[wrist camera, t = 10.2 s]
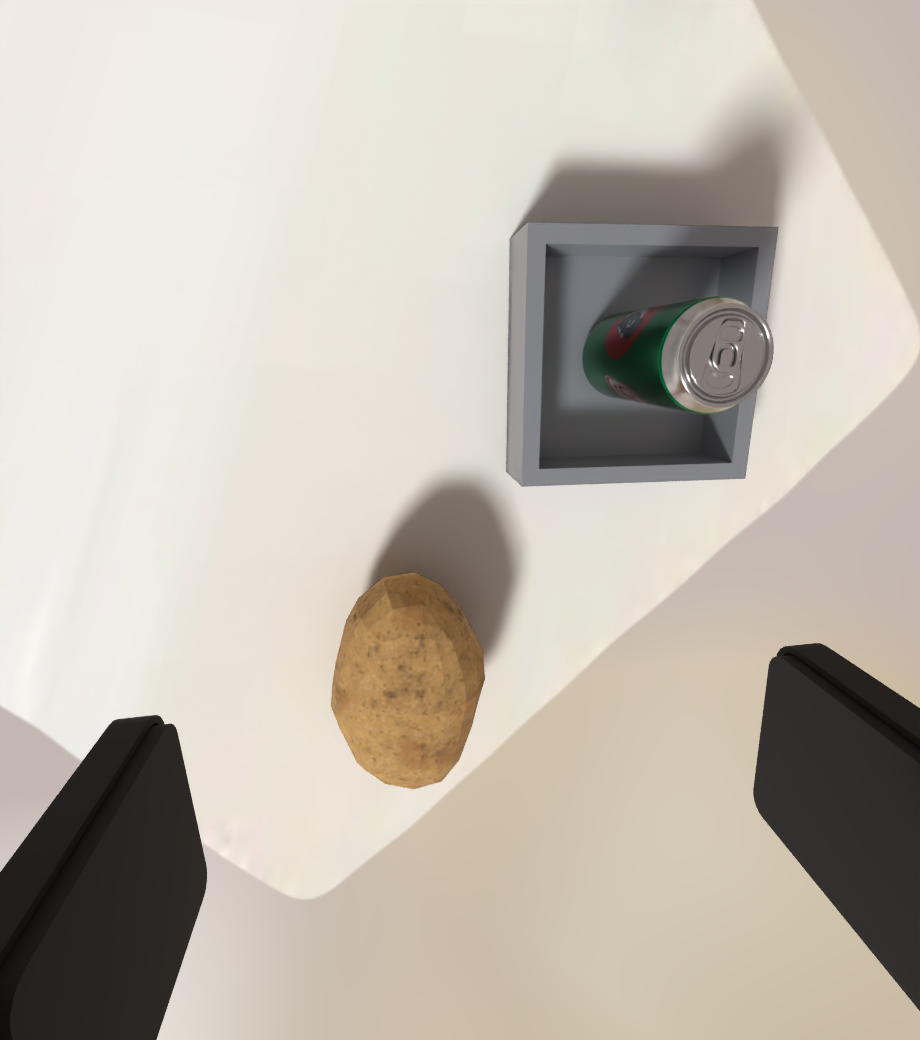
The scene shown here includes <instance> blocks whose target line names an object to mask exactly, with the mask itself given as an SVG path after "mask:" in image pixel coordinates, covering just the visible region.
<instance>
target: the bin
mask: <svg viewBox="0 0 920 1040" xmlns="http://www.w3.org/2000/svg"><path fill="white" fill-rule="evenodd" d="M777 234H778V227H744V226H693V225H641V224H590V223H539V222H527V223H526V224H525V225H524V226H523V227H522V228H521V229H520V230H519V231H518V232H517V233H516V234H515V235H514V236H513V237H512V238H510V256H509V324H508V392H507V460H506V472H507V473H508V474H509V475H510V476H511V477H512V478H513V479H514V480H516V481H517V482H518V483H519V484H520V485H521V486H550V485H578V484H607V483H635V482H663V481H691V480H719V479H745V476H746V469H747V461H748V454H749V446H750V439H751V431H752V423H753V416H754V408H755V401H756V393H757V391H756V392H755V393H754V394H753V395H751V396H750V397H749V398H747V399H746V400H745V401H743V402H741V403H739V404H736V405H734V406H733V407H731V408H729V409H727V410H725V411H722V412H719V413H714V414H697V413H692V412H687V411H681V410H676V409H671V408H665V407H660V406H655V405H650V404H644V403H639V402H634V401H629V400H623V399H618V398H613V397H608V396H606V395H603V394H601V393H600V392H598V391H597V390H596V389H595V388H593V386H592V385H591V384H590V383H589V381H588V379H587V378H586V375H585V373H584V369H583V362H582V355H583V349H584V345H585V342H586V339H587V337H588V336H589V334H590V332H591V331H592V330H593V328H594V327H595V326H596V325H597V324H598V323H599V322H600V321H602V320H603V319H605V318H607V317H609V316H610V315H614V314H617V313H622V312H628V311H634V310H639V309H645V308H650V307H656V306H662V305H667V304H673V303H678V302H684V301H690V300H695V299H701V298H707V297H713V296H726V297H730V298H734V299H737V300H739V301H741V302H743V303H744V304H746V305H747V306H749V307H750V308H752V309H754V310H755V311H757V312H758V313H759V314H760V315H761V316H762V317H763V318H764V320H765V321H766V317H767V310H768V302H769V295H770V287H771V280H772V272H773V265H774V257H775V249H776V242H777Z"/></svg>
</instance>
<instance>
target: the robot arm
mask: <svg viewBox="0 0 920 1040" xmlns="http://www.w3.org/2000/svg"><path fill="white" fill-rule="evenodd" d="M753 791H754V792H753V794H754V801H755V803H756V807H757V809H758V811H759V813H760V814H761V816H762V817H763V819H764V820H765V821H766V822H767V823H768V825H769V826H770V827H771V828H772V830H773V831H774V832H775V833H776V835H777V836H778V837H779V838H780V839H781V841H782V842H783V843H784V844H785V846H786V847H787V848H788V849H789V851H790V852H791V853H792V854H793V856H794V857H795V858H796V859H797V860H798V862H799V863H800V864H801V865H802V867H803V868H804V869H805V870H806V872H807V873H808V874H809V875H810V876H811V878H812V879H813V880H814V881H815V883H816V884H817V885H818V886H819V888H821V890H822V891H823V892H824V894H825V895H826V896H827V897H828V898H829V900H830V901H831V902H832V903H833V905H834V906H835V907H836V908H837V910H838V911H839V912H840V913H841V915H842V916H843V917H844V918H845V919H846V921H847V922H848V923H849V924H850V926H851V927H852V928H853V929H854V930H855V932H856V933H857V934H858V935H859V936H860V938H861V939H862V940H863V942H864V943H865V944H866V945H867V946H868V948H869V949H870V950H871V951H872V953H873V954H874V955H875V956H876V958H877V959H878V960H879V961H880V963H881V964H882V965H883V966H884V968H885V969H886V970H887V971H888V972H889V974H890V975H891V976H892V977H893V979H894V980H895V981H896V982H897V983H898V985H899V986H900V987H901V988H902V990H903V991H904V992H905V993H906V995H907V996H908V997H909V998H910V999H911V1001H912V1002H913V1003H914V1004H915V1006H916V1007H917V1008H918V1009H919V1011H920V708H919V707H917V706H916V705H914V704H913V703H911V702H909V701H908V700H907V699H905V698H904V697H902V696H900V695H899V694H898V693H896V692H895V691H893V690H891V689H890V688H888V687H887V686H885V685H884V684H882V683H881V682H879V681H878V680H876V679H875V678H873V677H872V676H870V675H869V674H868V673H866V672H864V671H863V670H861V669H860V668H858V667H857V666H855V665H854V664H852V663H851V662H849V661H848V660H846V659H845V658H843V657H842V656H840V655H839V654H837V653H836V652H834V651H833V650H831V649H830V648H828V647H827V646H825V645H822V644H820V643H813V644H804V645H794V646H785V647H783V648H781V649H780V650H779V652H778V653H777V657H774V658H772V660H771V661H770V664H769V669H768V677H767V686H766V693H765V701H764V710H763V717H762V726H761V733H760V742H759V749H758V757H757V766H756V773H755V781H754V790H753ZM206 882H207V868H206V862H205V857H204V853H203V848H202V843H201V839H200V834H199V830H198V825H197V820H196V816H195V811H194V807H193V802H192V797H191V793H190V788H189V784H188V779H187V774H186V770H185V765H184V761H183V756H182V751H181V747H180V742H179V738H178V733H177V730H176V727H175V726H174V725H173V724H164V722H163V720H162V718H161V717H160V716H158V715H152V716H143V717H134V718H125V719H117V720H114V721H113V722H112V723H111V724H110V725H109V726H108V727H107V729H106V730H105V731H104V733H103V734H102V736H101V737H100V738H99V740H98V741H97V742H96V744H95V745H94V746H93V748H92V749H91V750H90V752H89V753H88V754H87V756H86V757H85V759H84V760H83V761H82V763H81V764H80V766H79V767H78V768H77V769H76V771H75V772H74V773H73V775H72V776H71V777H70V779H69V780H68V781H67V783H66V784H65V786H64V787H63V788H62V790H61V791H60V793H59V794H58V795H57V796H56V798H55V799H54V800H53V802H52V803H51V804H50V806H49V807H48V809H47V810H46V811H45V813H44V814H43V815H42V817H41V818H40V819H39V821H38V822H37V823H36V825H35V826H34V827H33V829H32V830H31V832H30V833H29V834H28V836H27V837H26V839H25V840H24V841H23V842H22V844H21V845H20V846H19V848H18V849H17V850H16V852H15V853H14V855H13V856H12V857H11V859H10V860H9V861H8V863H7V864H6V865H5V867H4V868H3V870H2V871H1V872H0V1040H156V1039H157V1036H158V1033H159V1030H160V1027H161V1024H162V1021H163V1018H164V1015H165V1012H166V1009H167V1006H168V1003H169V1000H170V997H171V994H172V991H173V988H174V985H175V982H176V979H177V976H178V973H179V970H180V967H181V964H182V961H183V958H184V955H185V952H186V949H187V946H188V943H189V940H190V937H191V934H192V931H193V927H194V925H195V921H196V919H197V916H198V913H199V910H200V907H201V904H202V901H203V897H204V894H205V889H206Z"/></svg>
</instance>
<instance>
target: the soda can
mask: <svg viewBox="0 0 920 1040" xmlns="http://www.w3.org/2000/svg"><path fill="white" fill-rule="evenodd" d="M773 349H774V345H773V338H772V334H771V330H770V328H769V326H768V324H767V323H766V321H765V320H764V318H763V317H762V316H761V315H760V314H759V313H758V312H757V311H755V310H754V309H752V308H750V307H749V306H747V305H746V304H744V303H743V302H741V301H739V300H737V299H734V298H730V297H726V296H713V297H707V298H701V299H695V300H690V301H684V302H678V303H673V304H667V305H662V306H656V307H650V308H645V309H639V310H634V311H628V312H622V313H617V314H614V315H610V316H609V317H607V318H605V319H603V320H602V321H600V322H599V323H598V324H597V325H596V326H595V327H594V328H593V330H592V331H591V332H590V334H589V336H588V337H587V339H586V342H585V345H584V349H583V355H582V362H583V369H584V373H585V375H586V378H587V379H588V381H589V383H590V384H591V385H592V386H593V388H595V389H596V390H597V391H598V392H600V393H601V394H603V395H606V396H608V397H613V398H618V399H623V400H629V401H634V402H639V403H644V404H650V405H655V406H660V407H665V408H671V409H676V410H681V411H687V412H692V413H697V414H714V413H719V412H722V411H725V410H727V409H729V408H731V407H733V406H734V405H736V404H739V403H741V402H743V401H745V400H746V399H747V398H749V397H750V396H751V395H753V394H754V393H755V392H756V391H757V390H758V388H759V387H760V386H761V385H762V383H763V382H764V380H765V379H766V377H767V375H768V372H769V370H770V367H771V364H772V359H773Z"/></svg>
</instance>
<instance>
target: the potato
mask: <svg viewBox="0 0 920 1040" xmlns="http://www.w3.org/2000/svg"><path fill="white" fill-rule="evenodd" d="M484 680H485V674H484V662H483V651H482V647H481V645H480V643H479V641H478V639H477V638H476V636H475V634H474V632H473V630H472V628H471V626H470V624H469V623H468V621H467V619H466V617H465V615H464V613H463V611H462V610H461V608H460V606H459V605H458V604H457V603H456V602H455V600H454V599H453V598H452V597H451V595H450V594H449V593H448V592H447V591H446V589H445V588H443V587H442V586H441V585H439V584H438V583H436V582H434V581H432V580H430V579H427V578H425V577H423V576H422V575H420V574H417V573H414V572H411V573H405V574H399V575H394V576H388V577H383V578H382V579H381V580H380V581H378V582H377V583H376V584H375V585H374V586H372V587H371V588H370V589H369V590H368V591H367V592H365V593H364V594H363V595H362V596H361V597H359V598H358V600H357V602H356V604H355V606H354V607H353V609H352V611H351V613H350V615H349V617H348V618H347V620H346V624H345V628H344V632H343V636H342V640H341V644H340V648H339V652H338V656H337V660H336V665H335V671H334V678H333V685H332V698H331V707H332V710H333V712H334V715H335V717H336V720H337V723H338V725H339V728H340V730H341V732H342V734H343V735H344V737H345V739H346V741H347V743H348V745H349V747H350V749H351V751H352V753H353V755H354V757H355V759H356V761H357V763H358V764H359V765H360V766H362V767H363V768H364V769H365V770H366V771H367V772H369V773H370V774H372V775H373V776H375V777H376V778H378V779H379V780H381V781H382V782H384V783H385V784H389V785H394V786H399V787H404V788H409V789H416V788H420V787H423V786H427V785H430V784H434V783H438V782H441V781H442V780H443V779H444V778H445V777H446V775H447V774H448V773H449V772H450V771H451V769H452V768H453V767H454V766H455V765H456V763H457V762H458V761H459V759H460V756H461V754H462V751H463V748H464V746H465V743H466V740H467V738H468V735H469V732H470V730H471V727H472V723H473V719H474V715H475V712H476V708H477V704H478V700H479V697H480V693H481V690H482V687H483V683H484Z"/></svg>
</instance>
